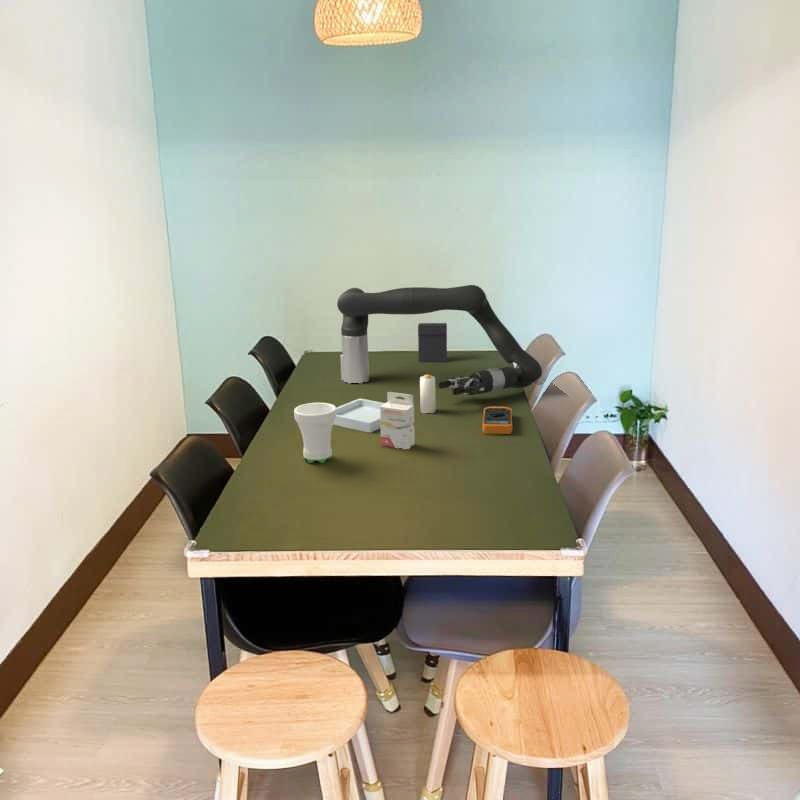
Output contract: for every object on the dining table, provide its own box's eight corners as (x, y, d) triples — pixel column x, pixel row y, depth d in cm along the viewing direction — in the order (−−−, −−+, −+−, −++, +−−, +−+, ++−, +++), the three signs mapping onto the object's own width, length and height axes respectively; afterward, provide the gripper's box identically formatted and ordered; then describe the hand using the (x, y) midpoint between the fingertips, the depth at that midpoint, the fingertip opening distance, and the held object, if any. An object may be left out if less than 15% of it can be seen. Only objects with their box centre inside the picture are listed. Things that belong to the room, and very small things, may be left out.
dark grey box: (447, 359, 312) (446, 322, 307) (446, 362, 308) (446, 324, 303) (419, 359, 313) (418, 322, 308) (418, 362, 309) (417, 324, 304)
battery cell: (417, 412, 249) (416, 376, 245) (425, 408, 253) (425, 372, 249) (430, 414, 246) (429, 378, 243) (438, 410, 250) (438, 374, 246)
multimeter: (511, 416, 244) (511, 405, 243) (512, 436, 227) (512, 424, 226) (483, 416, 245) (483, 405, 244) (482, 435, 228) (482, 424, 227)
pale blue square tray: (323, 422, 241) (323, 413, 240) (360, 407, 255) (359, 398, 254) (369, 432, 231) (369, 423, 230) (405, 416, 245) (405, 407, 244)
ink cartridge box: (380, 446, 220) (378, 395, 216) (387, 440, 225) (386, 391, 220) (408, 450, 217) (407, 399, 212) (415, 444, 221) (414, 394, 217)
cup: (305, 469, 205) (302, 417, 201) (291, 456, 214) (287, 406, 210) (345, 461, 210) (343, 410, 206) (329, 448, 219) (326, 400, 215)
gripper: (475, 365, 263) (433, 372, 256) (500, 374, 251) (458, 382, 244) (475, 386, 265) (434, 394, 258) (500, 397, 253) (457, 405, 246)
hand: (445, 388), depth 251 cm, fingers open, 8 cm apart
